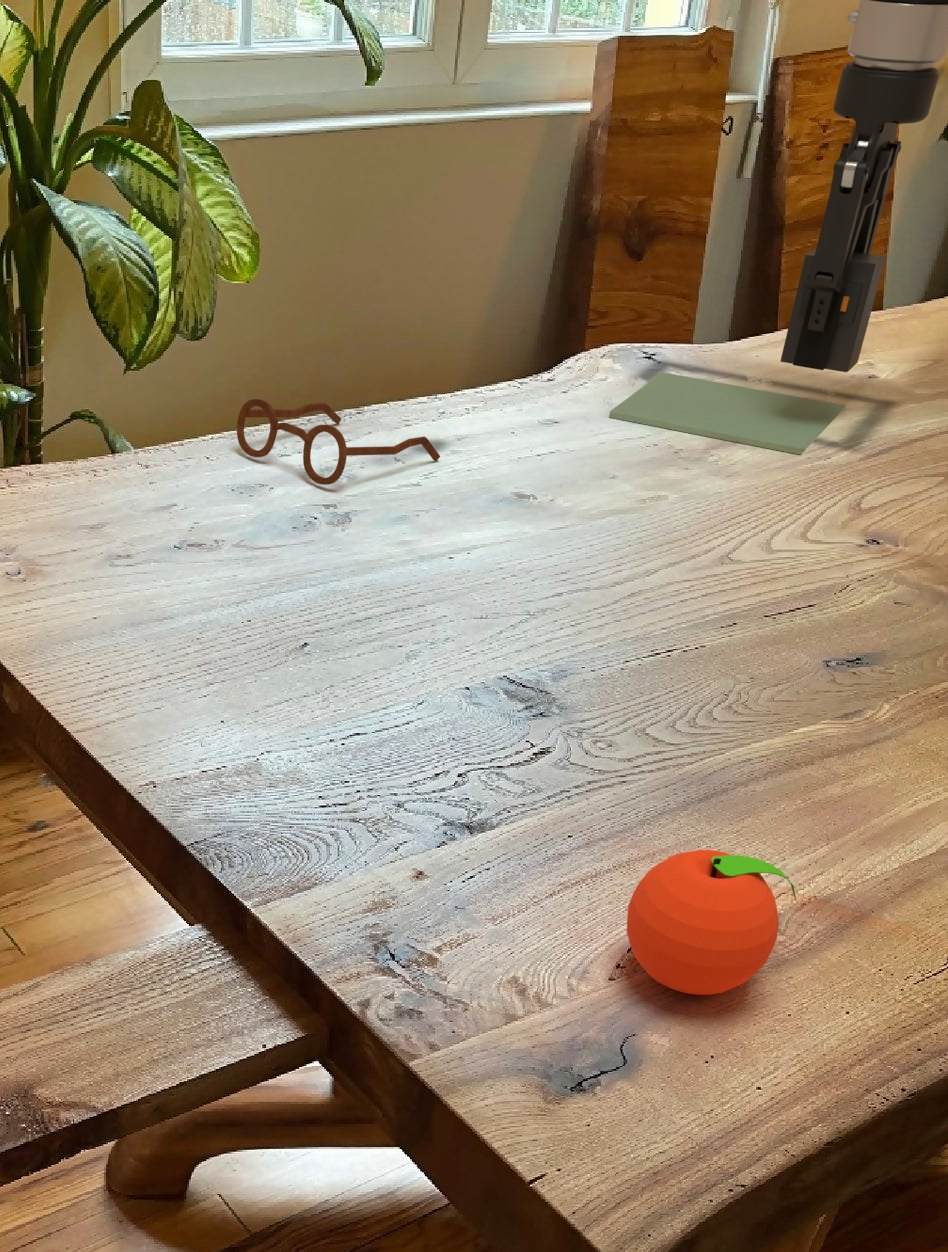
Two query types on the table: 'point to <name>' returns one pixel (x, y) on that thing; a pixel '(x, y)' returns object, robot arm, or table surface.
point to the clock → (852, 312)
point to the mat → (729, 412)
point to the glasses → (309, 437)
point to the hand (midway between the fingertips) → (816, 359)
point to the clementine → (704, 920)
